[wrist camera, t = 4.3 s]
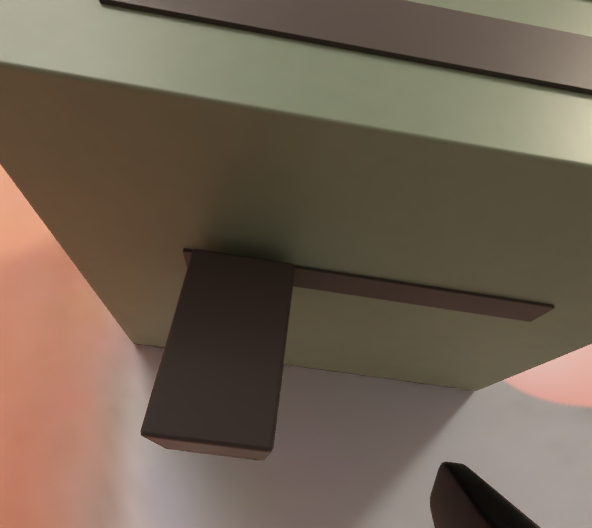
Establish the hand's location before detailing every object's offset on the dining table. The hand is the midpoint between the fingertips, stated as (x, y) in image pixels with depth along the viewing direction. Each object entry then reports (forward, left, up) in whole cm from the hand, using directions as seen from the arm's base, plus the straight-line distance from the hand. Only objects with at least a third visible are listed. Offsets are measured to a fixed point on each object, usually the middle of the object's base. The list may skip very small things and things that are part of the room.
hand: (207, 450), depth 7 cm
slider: (+2, +1, -2) cm, 3 cm away
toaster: (+9, +4, -9) cm, 14 cm away
